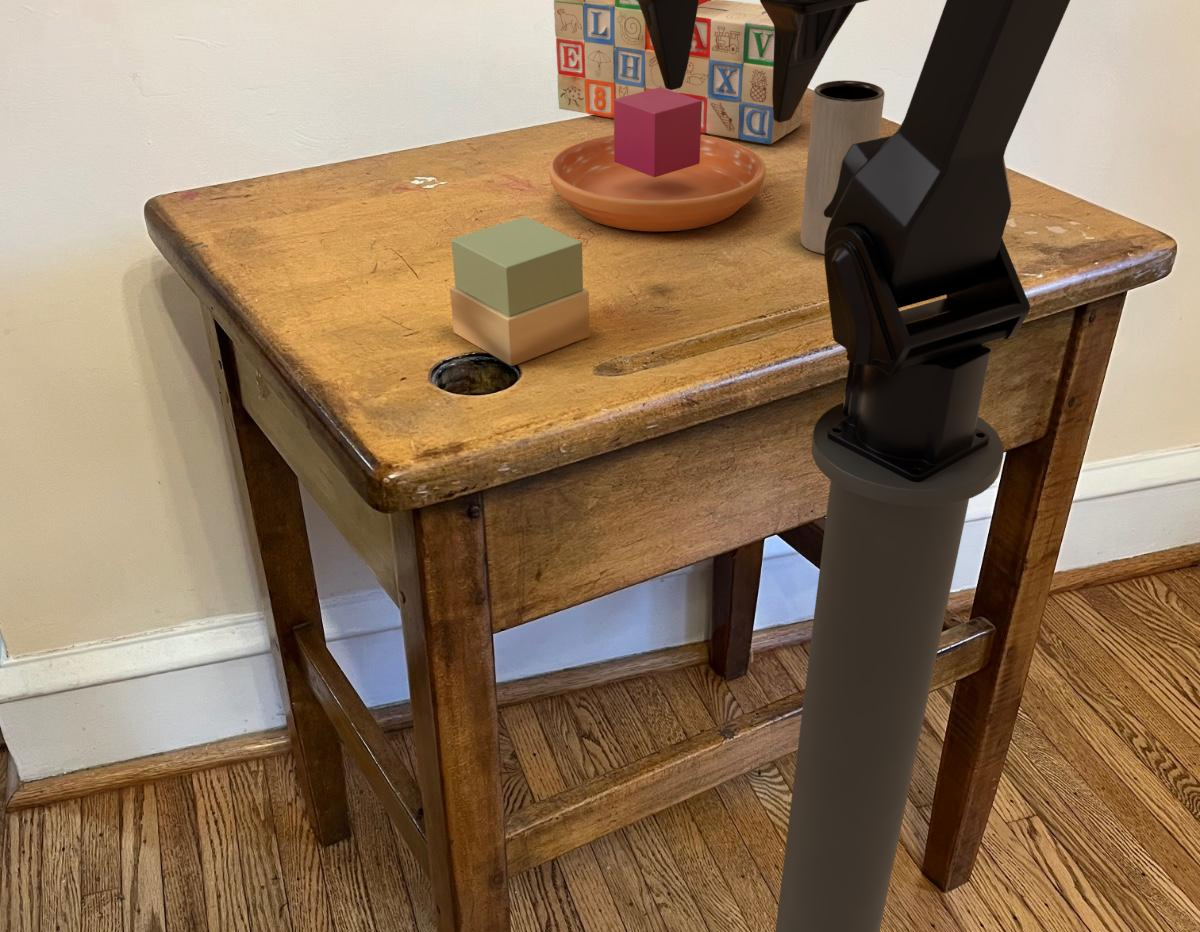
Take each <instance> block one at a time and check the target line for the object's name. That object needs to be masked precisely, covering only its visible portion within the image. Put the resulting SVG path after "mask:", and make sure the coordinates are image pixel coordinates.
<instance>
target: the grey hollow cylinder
mask: <svg viewBox="0 0 1200 932" xmlns="http://www.w3.org/2000/svg"><path fill="white" fill-rule="evenodd" d="M884 103H885V90H884V89H883V87H881V86H879V85H877V84H874V83H870V82H867V81H861V80H850V79H849V80H848V79H847V80H845V79H844V80H831V81H827V82H823V83H820V84H818V85H816V86H815V88H814V90H813V95H812V106H811V117H810V118H811V119H810V129H809V139H808V140H809V141H808V151H807V162H806V173H805V182H804V193H803V195H804V196H803V205H802V206H803V207H802V216H801V227H800V228H801V229H800V243H801V245H802V246H803V247H804V248H805V249H807V250H809V251H811V252H813V253H818V254H821V255H824V249H825V238H826V233H827V229H828V226H829V224H830V221H831V219H832V218H827V217H825V216H824V210H825V209H826V207H827V206H828V205H829V204H830V202H831V201H832V199H833V196H834V194H835V192H836V189H837V185H838V181H839V176H840V170H841V165H842V161H843V159H844V157H845V155H846V153H847V152H848V150H849V148H850V147H851V145H852V144H855V143H860V142H864V141H869V140H874V139H878V138H880V134H881V125H882V118H883V110H884Z"/></svg>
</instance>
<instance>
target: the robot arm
mask: <svg viewBox="0 0 1200 932" xmlns="http://www.w3.org/2000/svg"><path fill="white" fill-rule="evenodd" d="M637 1H638V3H639V6H640V9H641V11H642V14H643V17H644V19H645V22H646V26H647V29H648V31H649V35H650V39H651V42H652V45H653V49H654V52H655V55H656V58H657V62H658V65H659V68H660V72H661V75H662V78H663V82H664V85H665V87H666V89H669V90H674V89H678V88H680V87H681V86H682V85H683V81H684V77H685V73H686V69H687V65H688V61H689V56H690V50H691V44H692V38H693V33H694V27H695V21H696V15H697V9H698V3H699V0H637ZM868 1H869V0H759V2H760V5H762V6H763V7H764V9H765V11H766V12H767V14H768V16H769V17H770V19H771V21H772V22H773V24H774V31H775V32H774V60H773V89H772V100H773V115H774V120H775V121H776V122H779V123H781V122H785V121H788V120H790V119H791V118H792V116H793V114H794V112H795V110H796V108H797V107H798V105H799V103H800V101H801V99H802V97H803V98H804V95H805V93H806V91H807V89H808V87H809V85H810V83H811V82H812V80H813V78H814V76H815V74H816V72H817V70H818V68H819V66H820V65H821V62H822V61H823V59H824V57H825V55H826V53H827V51H828V49H829V48H830V46H831V44H832V43H833V41H834V39H835V38H836V37H837V35H838V33H839V32H840V30H841V29H842V27H843V25H844V24H845V22H846V21H847V19H848V17H849V16H850V14H851V13H852V11H853V10H854V8H855V6H856V5H857V4H859V3H864V2H868ZM1070 2H1071V0H945V3H944V6H943V8H942V11H941V15H940V18H939V20H938V23H937V26H936V29H935V32H934V33H933V37H932V40H931V42H930V46H929V48H928V51H927V54H926V57H925V60H924V63H923V66H922V68H921V71H920V74H919V76H918V80H917V82H916V86H915V87H914V91H913V93H912V96H911V99H910V102H909V105H908V108H907V111H906V113H905V116H904V119H903V120H902V122H901V124H900V126H899V128H898V129H897V130H896V131H895V132H894V133H893V134H892V135H888V136H883V137H879V138H878V139H874V140H869V141H864V142H860V143H855V144H852V145H851V147H850V148H849V150H848V152H847V153H846V155H845V157H844V159H843V161H842V165H841V170H840V176H839V181H838V185H837V189H836V192H835V194H834V196H833V199H832V201H831V202H830V204H829V205H828V206H827V207H826V209H825V210H824V216H825V217H827V218H832V219H831V221H830V224H829V226H828V229H827V233H826V238H825V249H824V254H823V259H824V270H825V279H826V287H827V294H828V295H827V297H828V305H829V311H830V312H829V315H830V322H831V331H832V338H833V341H834V342H835V343H837V344H839V345H840V346H841V347H842V348H844V349H845V352H846V360H847V361H848V365H847V375H846V381H845V382H846V383H845V391H844V399H843V402H844V406H843V415H844V416H846V417H847V419H845V420H843V421H841V422H839V423H837V424H835V425H833V426H831V427H830V428H828V433H827V437H828V439H830V440H832V441H834V442H835V443H837V444H839V445H841V446H843V447H845V448H847V449H849V450H851V451H853V452H855V453H857V454H859V455H861V456H863V457H865V458H866V459H868V460H870V461H872V462H874V463H876V464H878V465H880V466H882V467H884V468H886V469H888V470H890V471H892V472H894V473H896V474H897V475H899V476H901V477H903V478H905V479H907V480H909V481H912V482H921V481H924V480H926V479H927V478H929V477H931V476H933V475H934V474H936V473H938V472H940V471H942V470H943V469H945V468H947V467H949V466H951V465H952V464H954V463H956V462H958V461H960V460H961V459H963V458H965V457H967V456H968V455H970V454H972V453H974V452H976V451H977V450H979V449H981V448H983V447H985V446H986V445H988V443H989V438H990V435H989V434H988V433H986V432H984V431H982V430H980V429H978V428H976V423H977V418H978V417H979V412H980V407H981V402H982V399H983V398H982V397H983V394H984V393H983V392H984V388H985V382H986V378H987V373H988V368H989V363H990V360H991V359H990V358H991V353H992V349H991V348H990V347H988V346H985V345H986V344H990V343H993V342H995V341H999V340H1008V339H1011V338H1014V337H1016V335H1017V334H1018V332H1019V331H1020V329H1021V327H1022V325H1023V323H1024V322H1025V320H1026V318H1027V317H1028V315H1029V314H1030V311H1031V304H1030V302H1029V299H1028V297H1027V295H1026V292H1025V290H1024V287H1023V285H1022V283H1021V281H1020V278H1019V275H1018V273H1017V271H1016V267H1015V266H1014V263H1013V261H1012V259H1011V256H1010V253H1009V251H1008V249H1007V246H1006V244H1005V241H1004V239H1003V236H1004V232H1005V229H1006V225H1007V222H1008V219H1009V216H1010V211H1011V209H1012V195H1011V189H1010V184H1009V179H1008V172H1007V167H1006V162H1005V154H1006V150H1007V147H1008V145H1009V142H1010V140H1011V137H1012V135H1013V133H1014V130H1015V129H1016V126H1017V124H1018V121H1019V119H1020V117H1021V115H1022V113H1023V110H1024V108H1025V106H1026V103H1027V101H1028V99H1029V97H1030V94H1031V92H1032V89H1033V87H1034V85H1035V83H1036V80H1037V78H1038V76H1039V73H1040V71H1041V69H1042V66H1043V64H1044V62H1045V59H1046V57H1047V56H1048V54H1049V53H1048V52H1049V50H1050V49H1051V46H1052V43H1053V41H1054V38H1055V37H1056V34H1057V32H1058V30H1059V27H1060V25H1061V23H1062V21H1063V18H1064V16H1065V13H1066V11H1067V9H1068V7H1069V5H1070ZM943 296H946V297H944V298H941V299H938V300H934V299H936V298H940V297H943ZM932 299H933V300H934V301H930V300H932ZM926 301H930V302H926ZM922 302H926V303H924V304H920V305H917V306H913V307H909V306H912V305H915V304H919V303H922ZM905 307H909V308H906V309H902V310H900V309H901V308H905Z"/></svg>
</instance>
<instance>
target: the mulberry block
mask: <svg viewBox="0 0 1200 932" xmlns="http://www.w3.org/2000/svg"><path fill="white" fill-rule="evenodd" d="M701 114H702V101H701V100H698V99H695V98H692V97H689V96H686V95H682V94H679V93H676V92H673V91H670V90H667V89H664V88H661V87H659V88H655V89H652V90H648V91H644V92H640V93H636V94H633V95H629V96H625V97H621V98H617V99H614V118H613V134H614V162H616V163H618V164H621V165H624V166H626V167H629V168H631V169H634V170H636V171H639V172H642V173H644V174H647V175H649V176H652V177H658V176H661V175H664V174H667V173H671V172H674V171H677V170H680V169H684V168H687V167H690V166H693V165H696V164H699V163H700V139H701V135H702V133H701Z"/></svg>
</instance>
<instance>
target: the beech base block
mask: <svg viewBox="0 0 1200 932" xmlns="http://www.w3.org/2000/svg"><path fill="white" fill-rule="evenodd" d="M449 295H450V304H451V306H450V307H451V317H452V329H453V333H454V334H456V335H457V336H459V337H460V338H463V339H464V340H466V341H468V343H470V344H472V345H474V346H476V347H478V348H480V349H481V350H483V351H484V352H486V353H488V354H489V355H491V356H493V357H494V358H496V359H498V360H499V361H501V362H502V363H505V364H506V365H508V366H509V367H515V366H516V365H517V366H518V365H519V364H522V363H525V362H528V361H530V360H533V359H535V358H538V357H540V356H543V355H546V354H548V353H550V352H553V351H557V350H559V349H561V348H564V347H566V346H568V345H572V344H574V343H576V342H578V341H581V340H584V339H587V338H589V337H590V335H591V333H590V332H591V331H590V330H591V329H590V291H589V290H587V289H585V288H583V290H582V291H579V292H577V293H574V294H571V295H568V296H566V297H563V298H560V299H557V300H554V301H552V302H549V303H546V304H543V305H541V306H538V307H535V308H532V309H529V310H527V311H524V312H521V313H518V314H516V315H513V316H507V315H506V314H504V313H502V312H500V311H498V310H497V309H495V308H493V307H491V306H489V305H488V304H486V303H484V302H482V301H480V300H478V299H477V298H475V297H473V296H471V295H469V294H468V293H466V292H464V291H462V290H460V289H459V288H457V287H456V286H455V285H453V286H450V287H449Z"/></svg>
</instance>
